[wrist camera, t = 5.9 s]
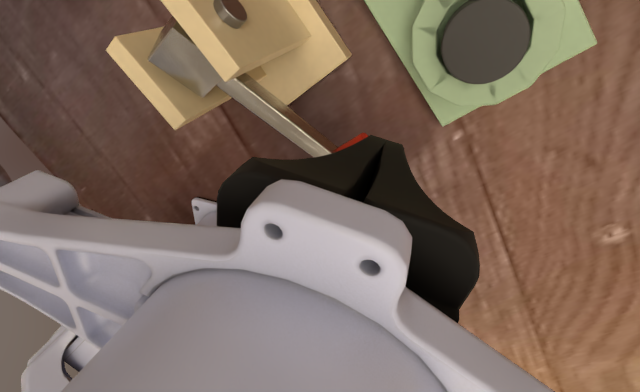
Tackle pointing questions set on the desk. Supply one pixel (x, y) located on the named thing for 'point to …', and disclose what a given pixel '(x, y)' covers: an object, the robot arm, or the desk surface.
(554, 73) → the desk surface
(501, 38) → the button
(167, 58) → the lever
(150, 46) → the bracket
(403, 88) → the desk surface
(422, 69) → the button box
